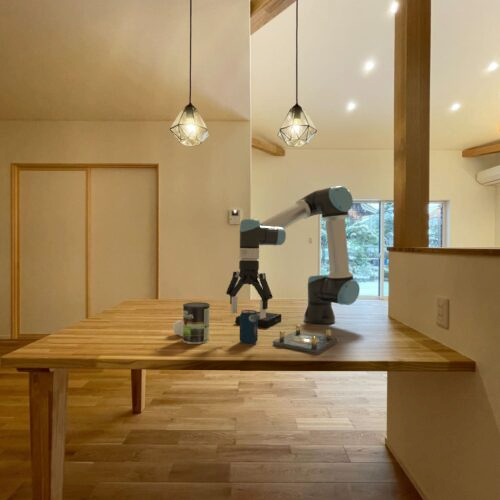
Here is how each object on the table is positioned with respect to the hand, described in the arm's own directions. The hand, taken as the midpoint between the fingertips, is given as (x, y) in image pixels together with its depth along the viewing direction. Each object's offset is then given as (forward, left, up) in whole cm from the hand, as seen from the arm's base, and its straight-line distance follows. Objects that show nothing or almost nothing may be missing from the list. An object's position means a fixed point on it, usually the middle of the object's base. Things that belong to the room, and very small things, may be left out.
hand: (248, 315), depth 121 cm
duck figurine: (+6, -27, -11) cm, 29 cm away
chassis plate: (-12, +18, -10) cm, 24 cm away
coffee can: (+10, -18, -11) cm, 23 cm away
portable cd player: (-30, -16, -11) cm, 36 cm away
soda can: (0, 0, -11) cm, 11 cm away
